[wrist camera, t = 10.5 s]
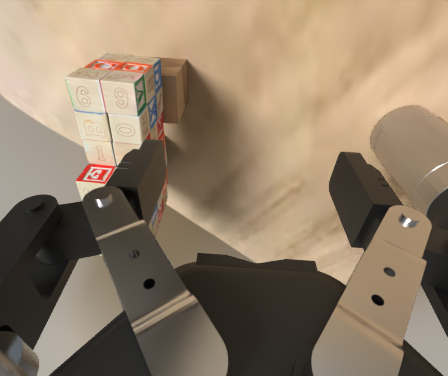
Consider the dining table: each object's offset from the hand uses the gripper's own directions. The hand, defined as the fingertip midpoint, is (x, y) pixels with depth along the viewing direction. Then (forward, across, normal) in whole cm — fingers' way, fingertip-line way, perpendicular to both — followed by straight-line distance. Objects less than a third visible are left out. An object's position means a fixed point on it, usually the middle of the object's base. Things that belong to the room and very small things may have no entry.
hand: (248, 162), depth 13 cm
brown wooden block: (+30, +11, +6) cm, 33 cm away
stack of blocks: (+22, +13, +11) cm, 28 cm away
